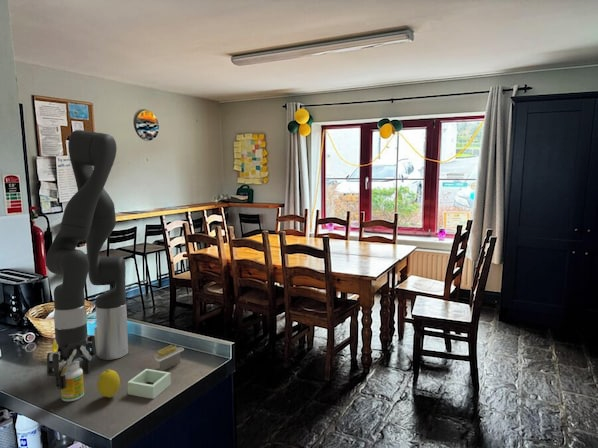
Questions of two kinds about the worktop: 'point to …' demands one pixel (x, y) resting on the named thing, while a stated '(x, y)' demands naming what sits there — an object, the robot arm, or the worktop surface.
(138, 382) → the pale green open box
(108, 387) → the lemon
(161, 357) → the butter dish
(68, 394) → the supplement bottle
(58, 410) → the worktop surface
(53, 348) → the watch
